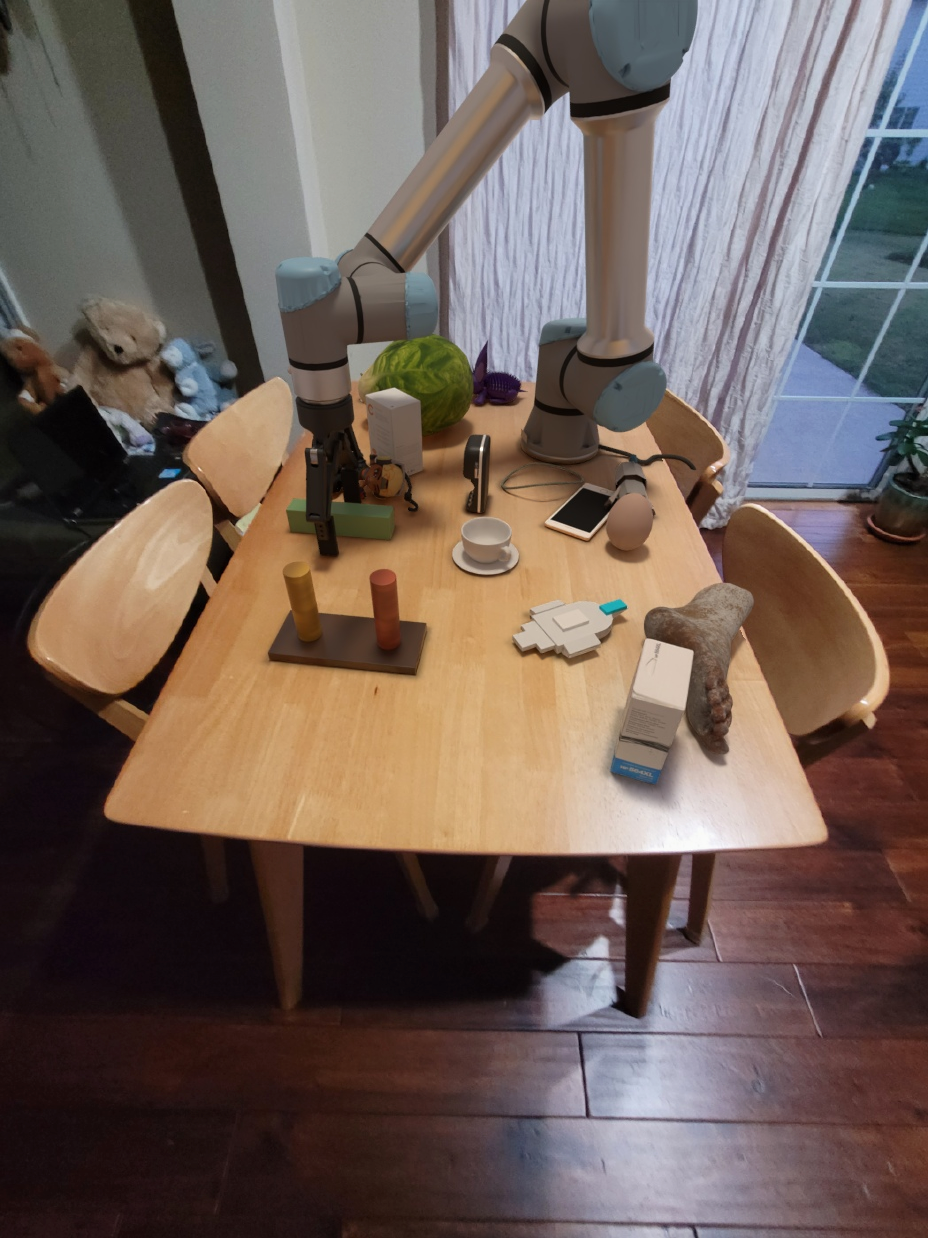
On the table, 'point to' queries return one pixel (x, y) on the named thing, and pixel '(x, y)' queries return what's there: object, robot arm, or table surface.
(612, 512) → the egg
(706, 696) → the sculpture
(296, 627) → the rods
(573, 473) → the loop
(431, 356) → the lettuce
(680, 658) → the ink box
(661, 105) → the robot arm
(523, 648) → the toy rocket
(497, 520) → the teacup
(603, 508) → the cell phone
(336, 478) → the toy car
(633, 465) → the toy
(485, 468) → the battery charger
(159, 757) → the table surface
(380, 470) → the toy
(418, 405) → the small box
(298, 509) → the bar
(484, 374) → the creature
